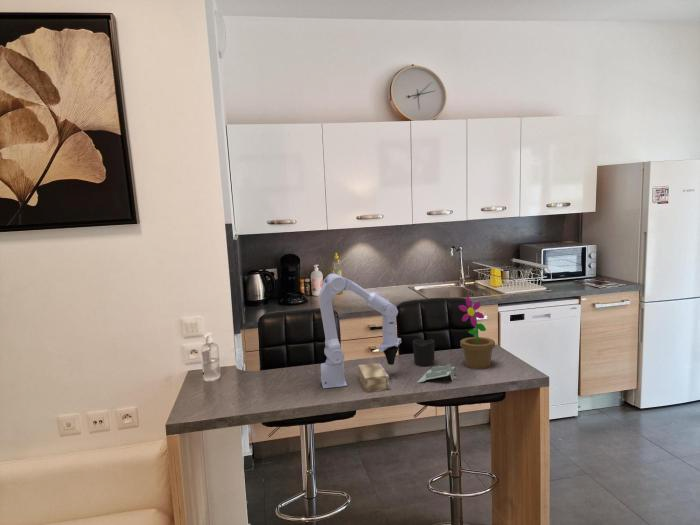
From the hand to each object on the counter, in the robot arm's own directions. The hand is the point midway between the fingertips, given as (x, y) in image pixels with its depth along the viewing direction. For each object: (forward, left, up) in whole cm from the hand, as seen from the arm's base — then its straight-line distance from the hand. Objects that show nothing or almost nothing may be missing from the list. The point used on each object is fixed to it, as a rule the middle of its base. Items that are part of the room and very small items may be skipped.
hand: (390, 364), depth 198 cm
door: (-5, -2, -5) cm, 7 cm away
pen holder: (+18, +12, -5) cm, 22 cm away
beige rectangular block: (-9, -6, -5) cm, 12 cm away
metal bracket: (+17, -8, -6) cm, 20 cm away
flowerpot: (+39, +3, -5) cm, 39 cm away
